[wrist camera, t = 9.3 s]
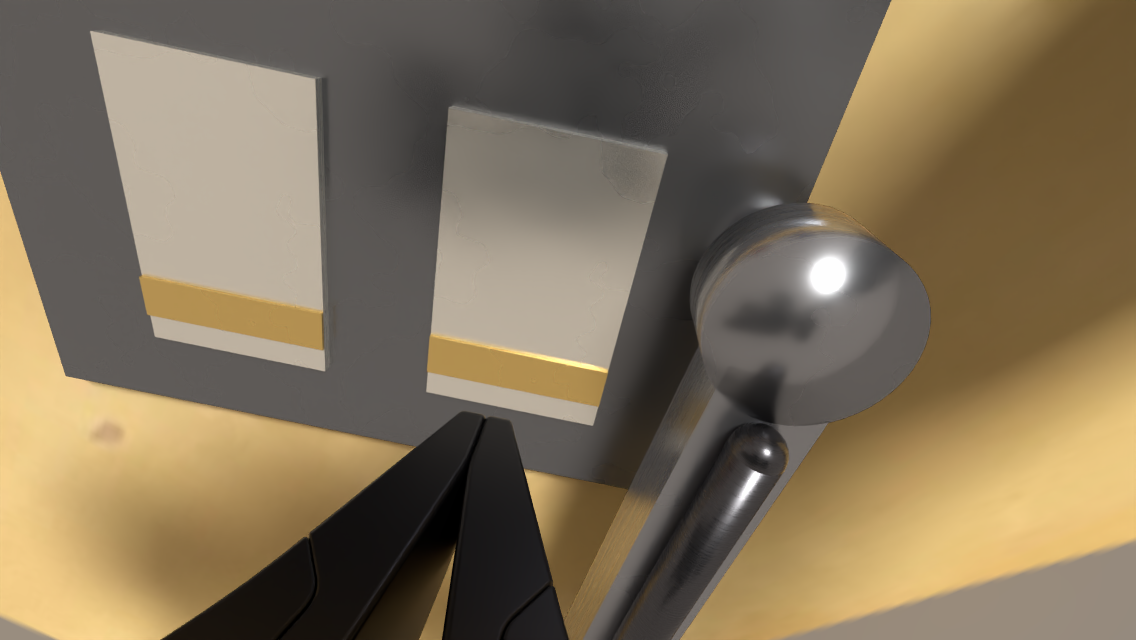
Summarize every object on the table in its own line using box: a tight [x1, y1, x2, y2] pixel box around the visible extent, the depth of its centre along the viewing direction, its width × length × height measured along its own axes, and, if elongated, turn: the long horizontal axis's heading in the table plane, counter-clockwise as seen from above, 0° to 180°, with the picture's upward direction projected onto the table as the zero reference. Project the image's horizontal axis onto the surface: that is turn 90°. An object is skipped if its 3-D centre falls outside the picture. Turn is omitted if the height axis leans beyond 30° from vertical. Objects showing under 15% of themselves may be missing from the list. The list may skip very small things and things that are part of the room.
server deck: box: [0, 0, 891, 489], centre depth 13 cm, size 21×17×3 cm
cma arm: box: [564, 203, 931, 640], centre depth 14 cm, size 20×4×3 cm, turn 164°
